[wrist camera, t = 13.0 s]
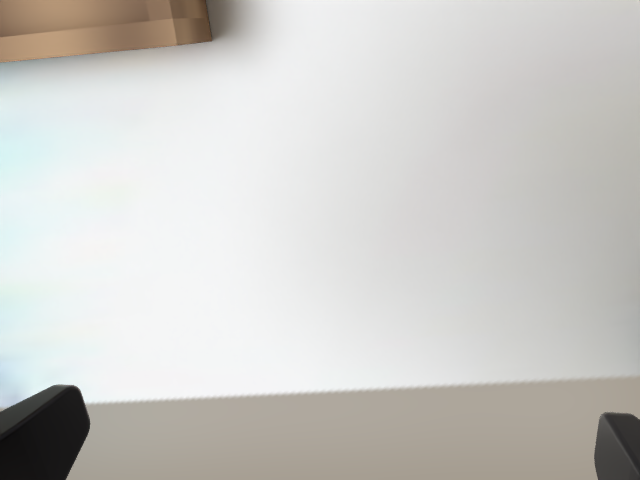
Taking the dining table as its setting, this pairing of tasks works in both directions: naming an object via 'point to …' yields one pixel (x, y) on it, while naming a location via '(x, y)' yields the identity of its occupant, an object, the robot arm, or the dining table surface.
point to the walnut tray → (97, 26)
